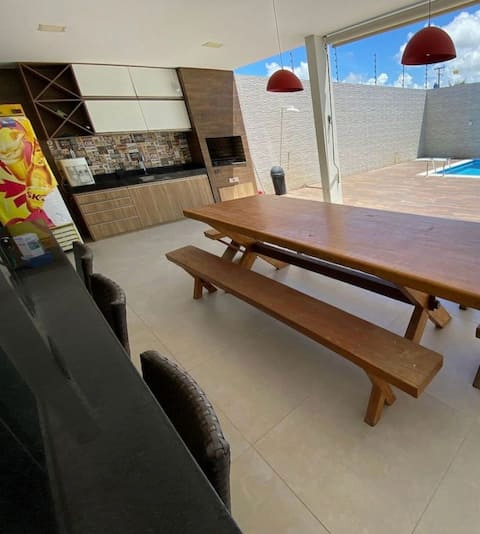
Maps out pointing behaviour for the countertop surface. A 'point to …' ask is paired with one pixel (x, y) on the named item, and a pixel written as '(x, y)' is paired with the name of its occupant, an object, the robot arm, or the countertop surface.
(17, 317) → the countertop surface
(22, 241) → the syrup box
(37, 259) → the holder
